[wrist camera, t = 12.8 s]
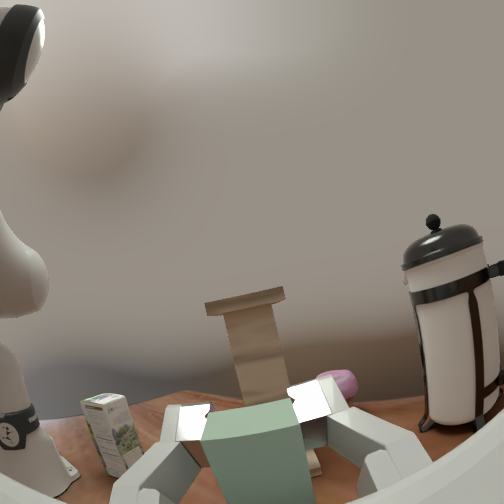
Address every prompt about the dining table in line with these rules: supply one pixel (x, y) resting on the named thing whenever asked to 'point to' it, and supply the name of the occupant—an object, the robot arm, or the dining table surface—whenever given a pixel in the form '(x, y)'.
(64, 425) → the dining table surface
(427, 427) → the coffee press
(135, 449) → the syrup box
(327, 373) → the cupcake
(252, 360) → the stand
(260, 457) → the spatula
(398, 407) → the dining table surface
